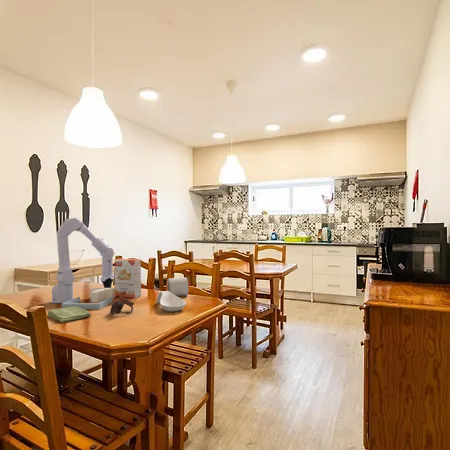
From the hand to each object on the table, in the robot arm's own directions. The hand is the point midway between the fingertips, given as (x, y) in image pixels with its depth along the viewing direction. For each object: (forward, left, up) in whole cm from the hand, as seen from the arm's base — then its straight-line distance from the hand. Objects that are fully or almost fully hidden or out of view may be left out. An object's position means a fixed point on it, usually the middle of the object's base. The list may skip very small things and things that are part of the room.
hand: (107, 291), depth 182 cm
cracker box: (+13, -4, -2) cm, 14 cm away
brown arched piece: (+22, -40, -2) cm, 45 cm away
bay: (0, -24, -2) cm, 24 cm away
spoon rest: (+41, -30, -2) cm, 51 cm away
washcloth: (+1, -45, -2) cm, 45 cm away
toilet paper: (+41, -3, -2) cm, 41 cm away
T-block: (0, -11, -2) cm, 11 cm away
